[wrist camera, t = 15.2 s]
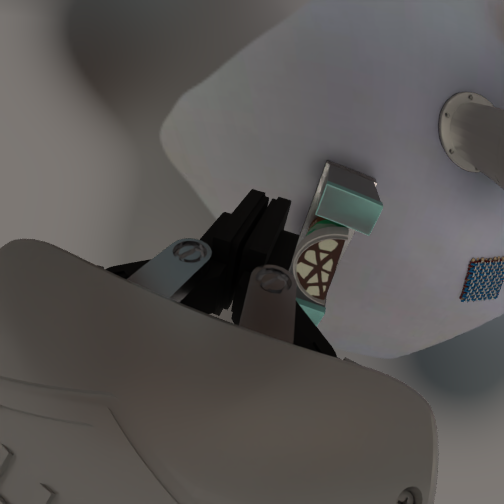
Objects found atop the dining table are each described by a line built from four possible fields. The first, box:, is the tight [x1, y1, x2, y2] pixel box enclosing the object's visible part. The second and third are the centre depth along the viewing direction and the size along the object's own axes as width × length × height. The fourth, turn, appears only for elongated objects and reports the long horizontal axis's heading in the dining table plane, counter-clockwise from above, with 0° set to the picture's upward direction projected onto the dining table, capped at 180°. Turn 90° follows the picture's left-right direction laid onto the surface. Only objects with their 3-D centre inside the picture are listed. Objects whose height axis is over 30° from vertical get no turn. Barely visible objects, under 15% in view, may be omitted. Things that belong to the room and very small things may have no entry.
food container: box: [293, 216, 349, 305], centre depth 39 cm, size 12×6×10 cm, turn 174°
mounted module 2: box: [315, 165, 383, 235], centre depth 34 cm, size 7×4×9 cm, turn 76°
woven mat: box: [460, 256, 504, 302], centre depth 38 cm, size 10×11×2 cm
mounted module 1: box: [289, 264, 326, 327], centre depth 46 cm, size 7×4×9 cm, turn 76°
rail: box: [289, 160, 377, 270], centre depth 44 cm, size 8×23×2 cm, turn 166°
